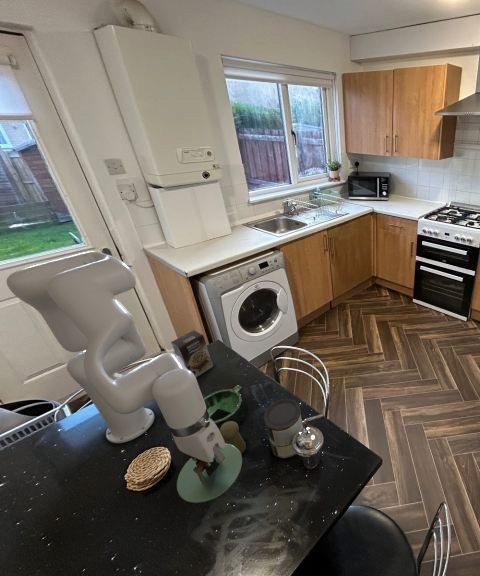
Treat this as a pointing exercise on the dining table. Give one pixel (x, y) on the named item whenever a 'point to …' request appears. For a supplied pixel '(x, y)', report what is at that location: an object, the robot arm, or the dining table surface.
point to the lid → (209, 477)
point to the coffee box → (193, 352)
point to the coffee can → (283, 426)
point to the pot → (226, 405)
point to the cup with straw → (308, 443)
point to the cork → (232, 435)
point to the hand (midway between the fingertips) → (209, 468)
